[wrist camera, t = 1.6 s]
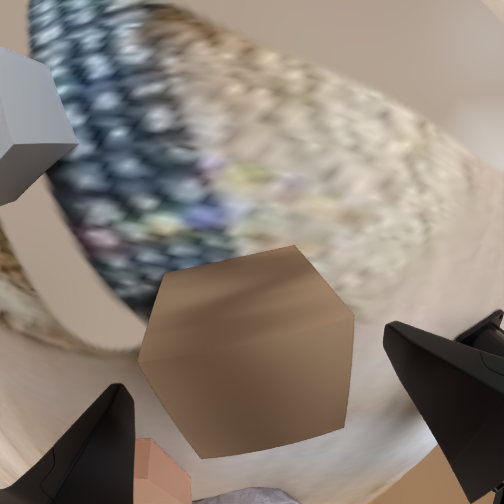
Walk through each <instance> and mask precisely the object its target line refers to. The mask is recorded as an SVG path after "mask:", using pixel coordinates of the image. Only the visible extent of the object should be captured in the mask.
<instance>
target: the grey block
mask: <svg viewBox="0 0 504 504" xmlns="http://www.w3.org/2000/svg"><path fill="white" fill-rule="evenodd" d="M78 144H79V143H78V141H77V139H76V136H75V134H74V132H73V129H72V127H71V125H70V122H69V120H68V117H67V115H66V112H65V110H64V107H63V105H62V102H61V100H60V97H59V94H58V91H57V89H56V86H55V83H54V80H53V77H52V74H51V71H50V68H49V66H46V65H44V64H42V63H40V62H37V61H35V60H33V59H30V58H28V57H25V56H23V55H20V54H18V53H16V52H13V51H11V50H8V49H5V48H3V47H0V206H2V205H5V204H7V203H10V202H13V201H15V200H17V199H18V198H19V197H20V196H21V195H22V194H23V193H24V192H25V191H26V190H27V189H28V188H29V187H30V186H31V185H32V184H33V183H34V182H35V181H36V180H37V179H38V178H39V177H40V176H41V175H43V173H44V172H45V171H46V170H47V169H48V168H50V167H51V166H52V165H53V164H54V163H55V162H57V161H58V160H59V159H60V158H61V157H63V156H64V155H65V154H66V153H67V152H69V151H70V150H71V149H72V148H74V147H75V146H76V145H78Z"/></svg>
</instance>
